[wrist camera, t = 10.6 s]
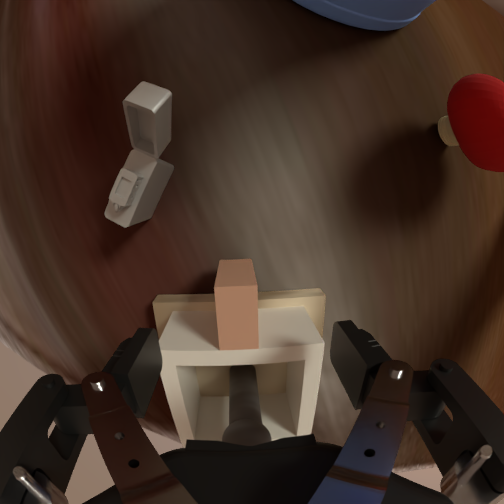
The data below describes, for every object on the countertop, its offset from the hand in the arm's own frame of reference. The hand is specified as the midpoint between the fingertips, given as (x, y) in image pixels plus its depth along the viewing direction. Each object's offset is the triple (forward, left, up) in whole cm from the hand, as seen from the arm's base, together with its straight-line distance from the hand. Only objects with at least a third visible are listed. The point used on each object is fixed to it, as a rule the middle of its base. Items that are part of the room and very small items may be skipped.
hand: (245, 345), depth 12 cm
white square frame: (0, +4, -7) cm, 8 cm away
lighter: (+5, -8, -8) cm, 13 cm away
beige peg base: (0, +7, -8) cm, 10 cm away
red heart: (-18, -12, -8) cm, 23 cm away
